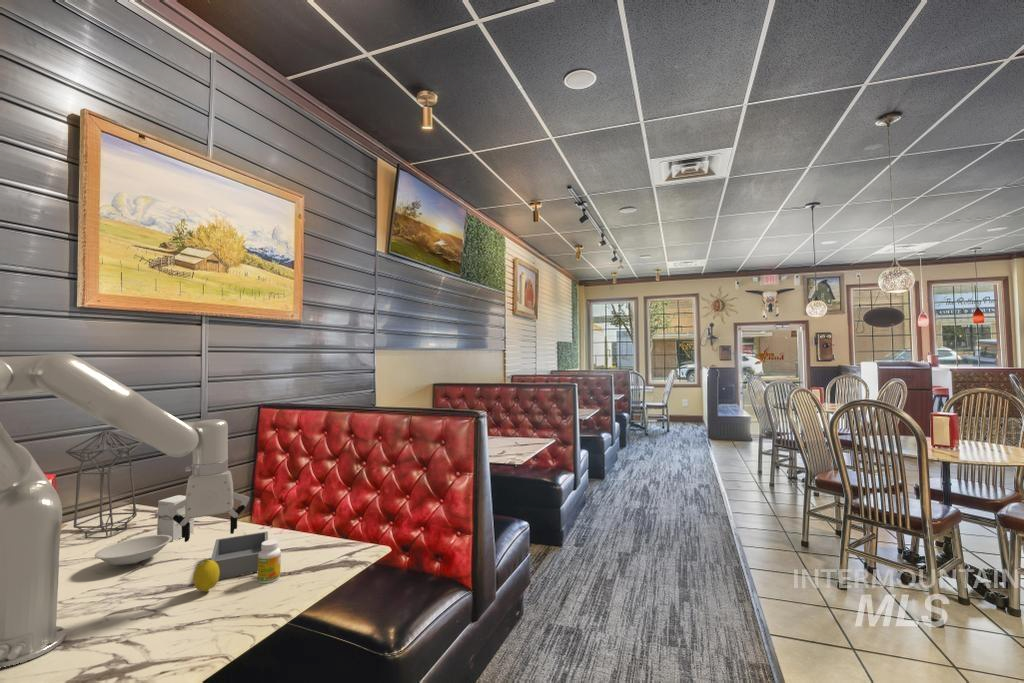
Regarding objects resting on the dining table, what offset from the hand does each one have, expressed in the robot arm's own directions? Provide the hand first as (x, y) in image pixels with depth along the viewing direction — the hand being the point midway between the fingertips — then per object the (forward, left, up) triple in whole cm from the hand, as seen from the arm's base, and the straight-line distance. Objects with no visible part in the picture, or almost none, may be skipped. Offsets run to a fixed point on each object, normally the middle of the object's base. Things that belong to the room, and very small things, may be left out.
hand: (210, 536), depth 116 cm
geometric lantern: (+64, +36, -14) cm, 74 cm away
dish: (+30, +21, -14) cm, 39 cm away
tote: (+15, -6, -14) cm, 21 cm away
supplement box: (+49, +14, -14) cm, 53 cm away
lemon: (0, +1, -14) cm, 14 cm away
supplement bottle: (0, -13, -14) cm, 19 cm away
